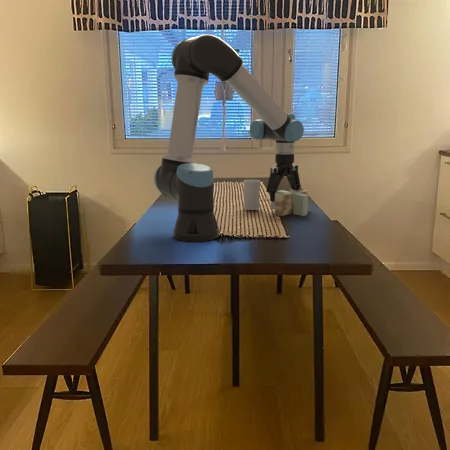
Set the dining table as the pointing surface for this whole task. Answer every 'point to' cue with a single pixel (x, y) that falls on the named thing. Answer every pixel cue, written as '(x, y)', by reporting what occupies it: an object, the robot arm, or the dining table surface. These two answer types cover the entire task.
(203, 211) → the robot arm
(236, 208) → the dining table surface
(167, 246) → the dining table surface
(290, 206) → the u-shaped wooden block
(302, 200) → the grey-green block
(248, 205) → the mug
